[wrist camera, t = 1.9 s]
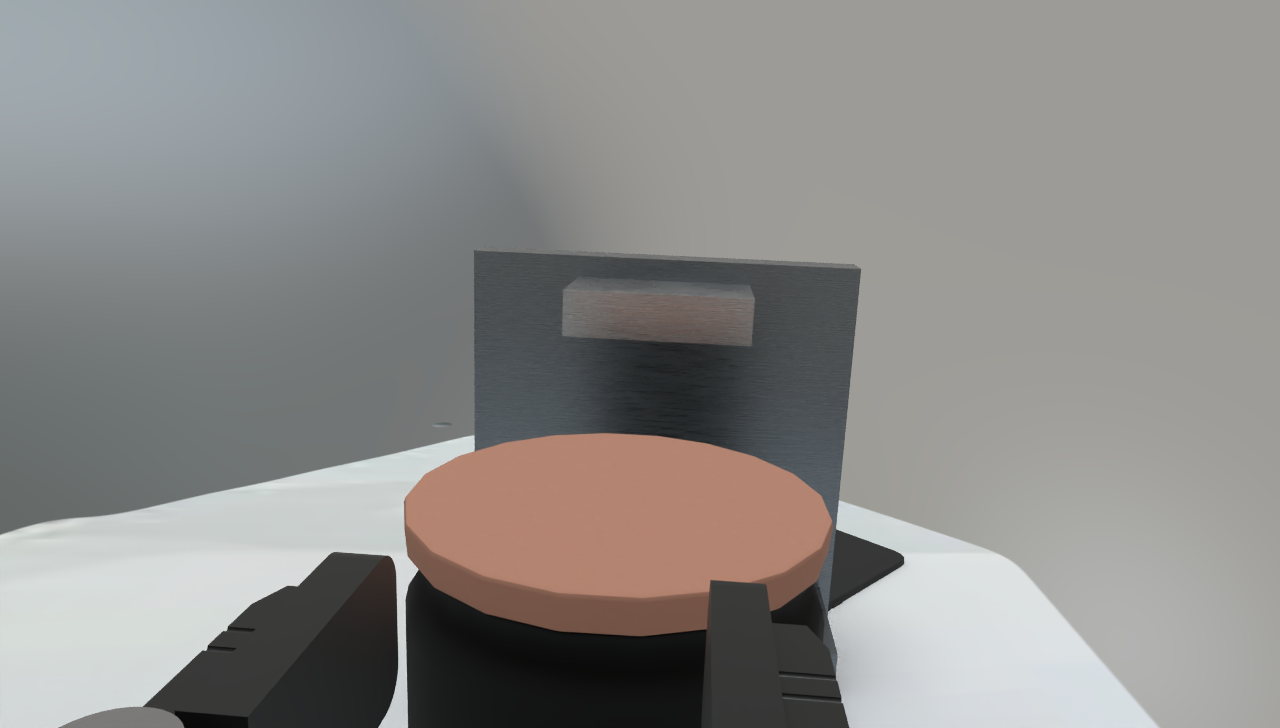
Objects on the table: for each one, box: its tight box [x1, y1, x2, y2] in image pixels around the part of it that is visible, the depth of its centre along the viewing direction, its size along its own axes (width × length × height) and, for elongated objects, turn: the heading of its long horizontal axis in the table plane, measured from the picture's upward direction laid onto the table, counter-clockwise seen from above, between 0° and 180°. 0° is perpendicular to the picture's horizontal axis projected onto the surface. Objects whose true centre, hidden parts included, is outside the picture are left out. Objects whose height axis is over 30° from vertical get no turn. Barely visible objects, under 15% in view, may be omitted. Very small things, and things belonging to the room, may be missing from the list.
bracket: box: [474, 247, 861, 674], centre depth 40 cm, size 8×18×22 cm, turn 86°
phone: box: [828, 530, 904, 611], centre depth 58 cm, size 7×1×15 cm
